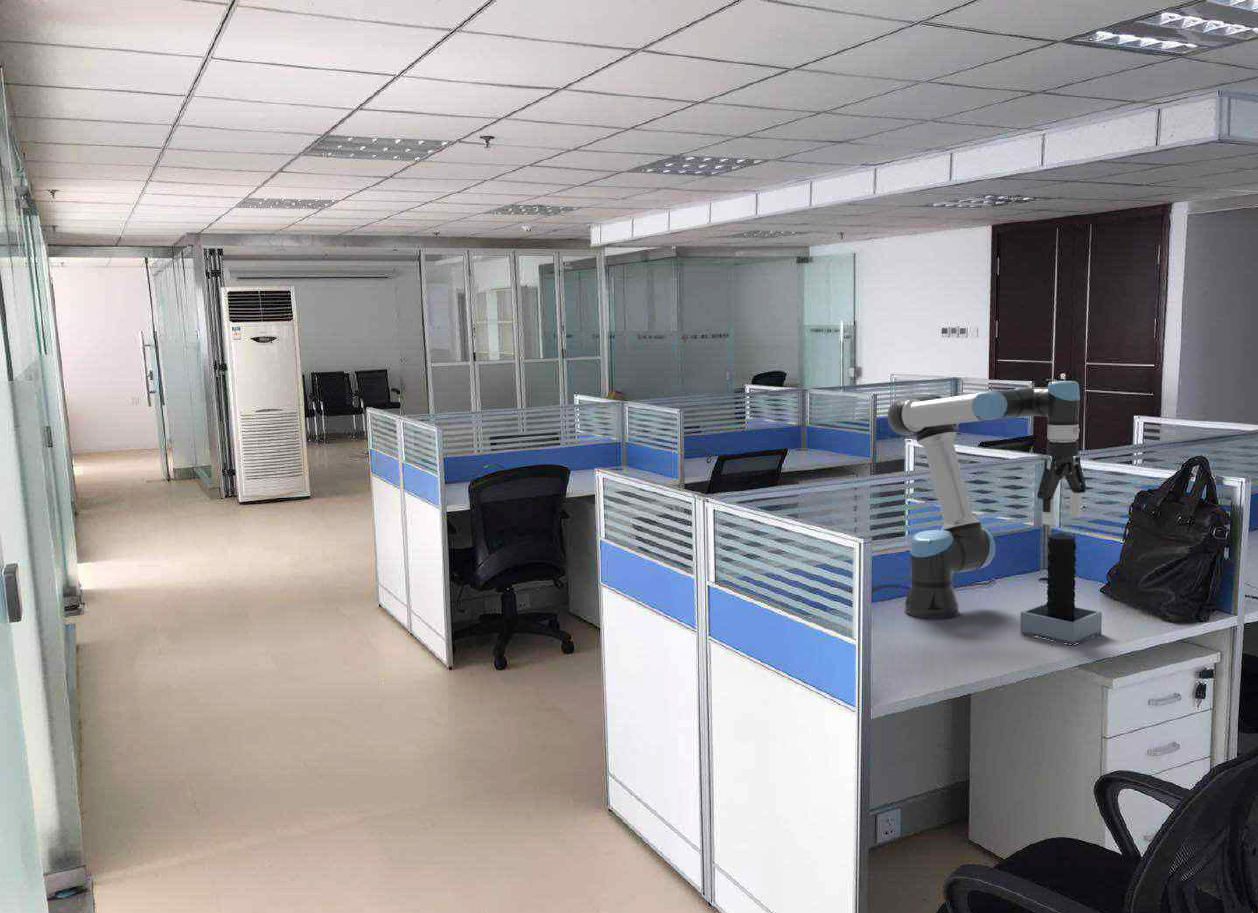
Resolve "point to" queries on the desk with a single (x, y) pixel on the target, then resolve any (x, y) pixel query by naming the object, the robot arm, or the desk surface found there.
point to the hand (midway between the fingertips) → (1061, 520)
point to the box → (1061, 625)
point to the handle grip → (1061, 576)
